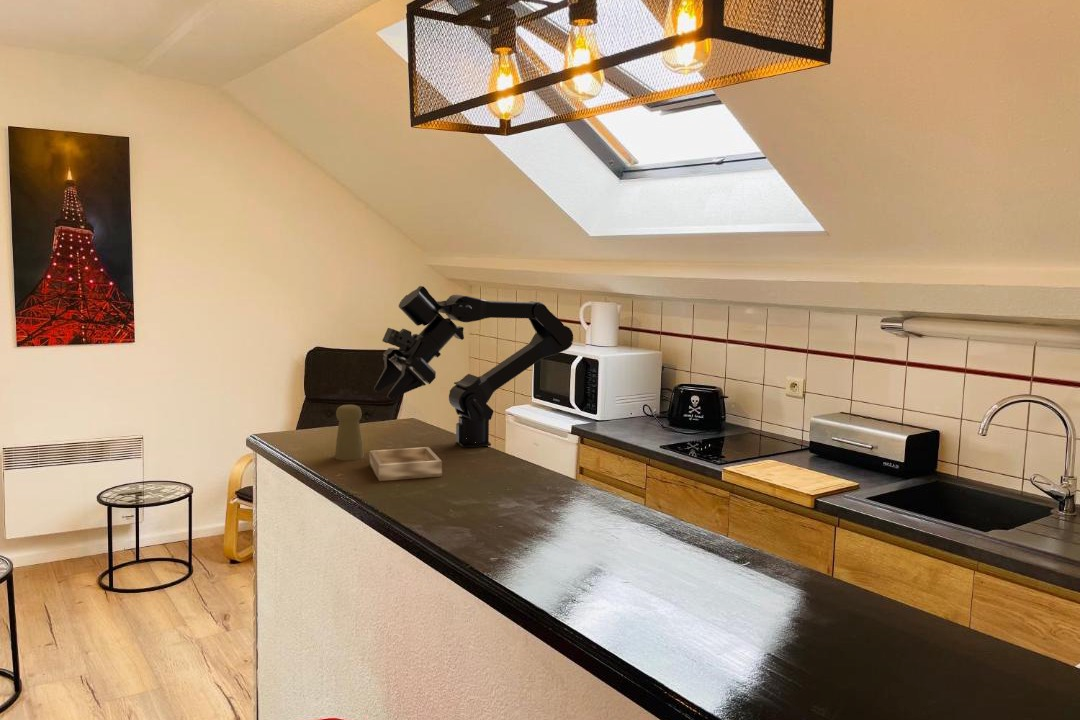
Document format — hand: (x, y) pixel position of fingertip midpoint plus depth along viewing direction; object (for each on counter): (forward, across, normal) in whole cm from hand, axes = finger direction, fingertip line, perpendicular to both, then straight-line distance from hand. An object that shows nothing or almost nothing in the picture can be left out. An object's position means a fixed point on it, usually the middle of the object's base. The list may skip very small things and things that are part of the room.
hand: (381, 394), depth 177 cm
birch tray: (+9, +15, +9) cm, 20 cm away
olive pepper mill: (+14, 0, +4) cm, 15 cm away
